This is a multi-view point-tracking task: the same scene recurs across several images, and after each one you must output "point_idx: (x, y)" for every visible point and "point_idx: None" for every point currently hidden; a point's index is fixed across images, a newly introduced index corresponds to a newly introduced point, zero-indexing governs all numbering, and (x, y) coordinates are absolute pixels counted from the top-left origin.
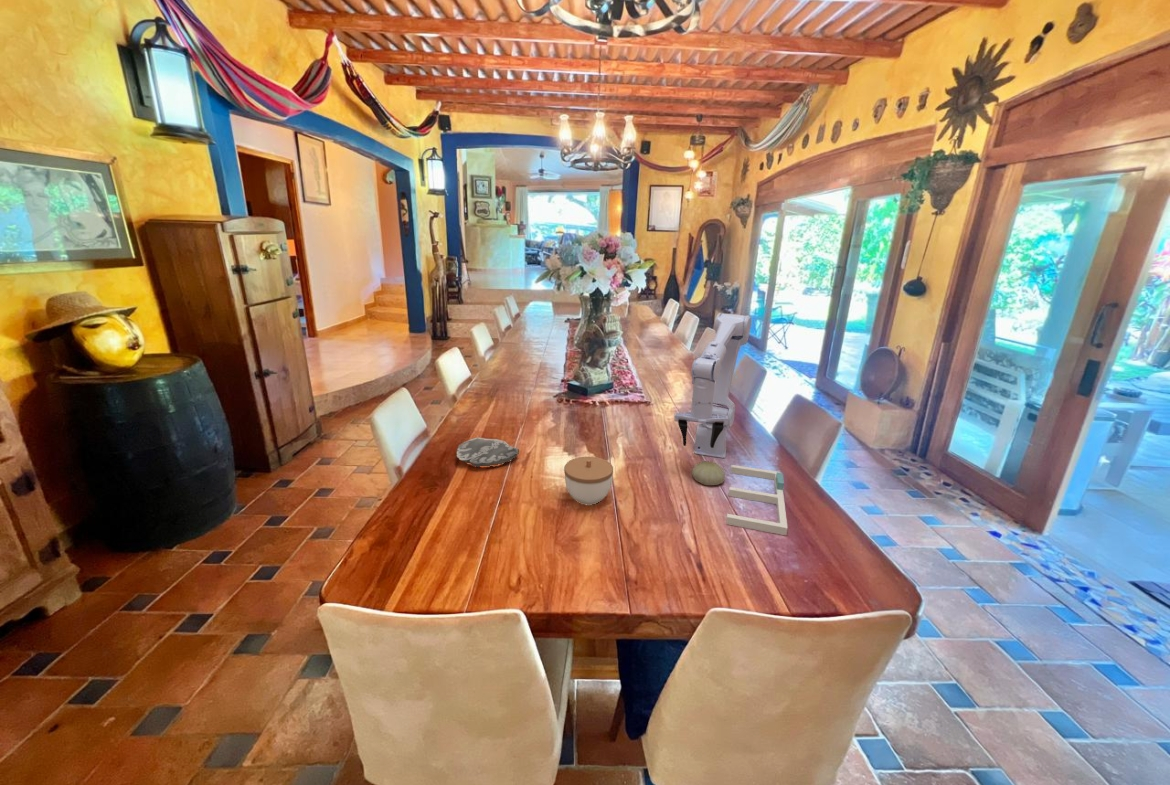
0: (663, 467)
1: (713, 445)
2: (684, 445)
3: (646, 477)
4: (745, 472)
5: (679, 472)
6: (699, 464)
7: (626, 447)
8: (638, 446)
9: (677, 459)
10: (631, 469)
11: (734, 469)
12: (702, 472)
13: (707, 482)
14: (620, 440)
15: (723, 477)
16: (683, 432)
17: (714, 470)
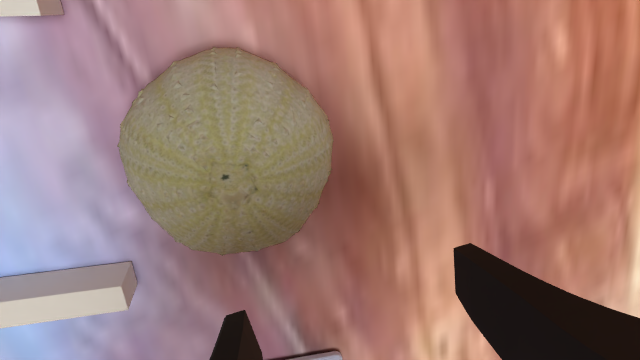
0: (469, 173)
1: (223, 330)
2: (467, 246)
3: (555, 29)
4: (37, 283)
5: (390, 156)
6: (301, 175)
7: (616, 274)
8: None
9: (407, 273)
10: (619, 87)
11: (103, 280)
12: (264, 88)
13: (217, 48)
14: (631, 314)
15: (120, 127)
16: (605, 320)
17: (180, 126)
